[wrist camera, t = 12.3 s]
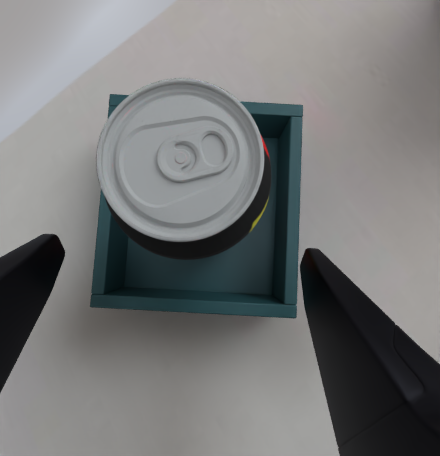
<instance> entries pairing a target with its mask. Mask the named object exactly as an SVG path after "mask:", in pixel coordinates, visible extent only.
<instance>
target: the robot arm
mask: <svg viewBox="0 0 440 456" xmlns="http://www.w3.org/2000/svg"><path fill="white" fill-rule="evenodd" d="M64 257H65V250H64V248H63V246H62V244H61V242H60V240H59V237H58V236H57V235H55V234H42V235H40V236H39V237H37V238H35V239H33V240H31V241H30V242H28V243H26V244H24V245H22V246H20V247H19V248H17V249H15V250H13V251H11V252H9V253H8V254H6V255H4V256H2V257H0V392H1V391H2V389H3V387H4V385H5V383H6V381H7V379H8V377H9V375H10V373H11V371H12V369H13V367H14V365H15V363H16V361H17V359H18V357H19V355H20V353H21V351H22V349H23V347H24V345H25V343H26V341H27V339H28V337H29V335H30V333H31V331H32V329H33V328H34V326H35V324H36V322H37V320H38V318H39V316H40V314H41V312H42V310H43V308H44V306H45V304H46V302H47V300H48V298H49V296H50V294H51V291H52V289H53V286H54V284H55V281H56V278H57V276H58V273H59V270H60V268H61V265H62V262H63V260H64ZM300 272H301V281H302V290H303V298H304V306H305V311H306V316H307V320H308V324H309V328H310V332H311V337H312V341H313V345H314V349H315V353H316V357H317V362H318V366H319V370H320V374H321V378H322V383H323V387H324V391H325V395H326V399H327V403H328V408H329V412H330V416H331V420H332V424H333V429H334V433H335V437H336V441H337V445H338V447H339V448H338V450H339V454H340V456H440V364H439V363H438V362H437V361H435V360H434V359H433V358H432V357H431V356H430V355H429V354H427V353H426V352H425V351H424V350H423V349H422V348H421V347H420V346H419V345H417V344H416V343H415V342H414V341H413V340H412V339H411V338H410V337H409V336H408V335H407V334H406V333H405V332H404V331H403V330H402V329H401V328H400V327H399V326H397V325H395V323H394V322H393V321H392V320H391V319H390V318H389V317H388V316H387V315H386V314H385V313H384V312H383V311H382V310H381V309H380V308H379V307H378V306H377V305H376V304H375V303H374V302H373V301H372V300H371V299H370V298H369V297H368V296H367V295H365V294H364V293H363V292H362V291H361V290H360V289H359V288H358V287H357V286H356V285H355V284H354V283H353V282H352V281H351V280H350V279H349V278H348V277H347V276H346V275H345V274H344V273H343V272H342V271H341V270H340V269H339V268H338V267H337V266H336V265H335V264H334V263H333V262H331V261H330V260H329V259H328V258H327V257H326V256H325V255H324V254H323V253H322V252H321V251H320V250H319V249H315V248H307V249H306V250H305V253H304V255H303V258H302V261H301V264H300Z"/></svg>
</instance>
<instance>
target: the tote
mask: <svg viewBox="0 0 440 456" xmlns="http://www.w3.org/2000/svg"><path fill="white" fill-rule="evenodd" d="M128 96H129V95H116V94H110V99H109V110H108V118H109V117H110V115H111V114H112V112H113V111H114V110H115V109H116V107H117V106H118V105H119V104H120V103H121V102H122V101H123V100H124V99H126V98H127V97H128ZM241 103H242V105H243V106H244V107H245V108H246V109H247V110H248V112H249V113H250V114H251V116H252V118H253V119H254V121H255V123H256V125H257V127H258V130H259V132H260V134H261V136H262V138H263V140H264V142H265V145H266V148H267V150H268V154H269V158H270V164H271V175H272V179H271V189H270V195H269V199H268V202H267V205H266V207H265V210H264V212H263V214H262V216H261V218H260V219H259V221H258V222H257V224H256V225H255V226H254V228H253V229H252V230H251V231H250V232H249V233H248V235H247V236H245V237H244V238H243V239H242V240H241V241H240V242H238V243H237V244H236V245H234V246H233V247H231V248H229V249H227V250H226V251H223V252H221V253H219V254H216V255H213V256H210V257H206V258H201V259H194V260H181V259H172V258H167V257H163V256H160V255H157V254H155V253H152V252H150V251H148V250H146V249H144V248H143V247H141V246H140V245H138V244H137V243H135V242H134V241H133V240H132V239H130V238H129V237H128V236H127V235H126V234H125V233H124V231H123V230H122V229H121V228H120V227H119V225H118V224H117V222H116V221H115V219H114V218H113V216H112V214H111V212H110V210H109V208H108V206H107V203H106V200H105V197H104V194H103V191H102V189H101V195H100V206H99V217H98V227H97V238H96V249H95V259H94V270H93V281H92V291H91V294H92V295H91V303H90V307H96V308H114V309H133V310H151V311H169V312H188V313H206V314H224V315H242V316H261V317H279V318H296V315H297V306H296V304H297V280H298V247H299V214H300V181H301V148H302V116H303V105H292V104H274V103H257V102H241Z"/></svg>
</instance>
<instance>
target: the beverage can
mask: <svg viewBox="0 0 440 456" xmlns="http://www.w3.org/2000/svg"><path fill="white" fill-rule="evenodd" d="M96 166H97V174H98V179H99V183H100V186H101V189H102V191H103V194H104V197H105V200H106V203H107V206H108V208H109V210H110V212H111V214H112V216H113V218H114V219H115V221H116V222H117V224H118V225H119V227H120V228H121V229H122V230H123V231H124V233H125V234H126V235H127V236H128V237H129V238H130V239H132V240H133V241H134V242H135V243H137V244H138V245H140V246H141V247H143V248H144V249H146V250H148V251H150V252H152V253H155V254H157V255H160V256H163V257H167V258H172V259H181V260H194V259H201V258H206V257H210V256H213V255H216V254H219V253H221V252H223V251H226V250H227V249H229V248H231V247H233V246H234V245H236V244H237V243H238V242H240V241H241V240H242V239H243V238H244V237H245V236H247V235H248V233H249V232H250V231H251V230H252V229H253V228H254V226H255V225H256V224H257V222H258V221H259V219H260V218H261V216H262V214H263V212H264V210H265V207H266V205H267V202H268V199H269V195H270V189H271V179H272V175H271V164H270V158H269V154H268V150H267V148H266V145H265V142H264V140H263V138H262V136H261V134H260V132H259V130H258V127H257V125H256V123H255V121H254V119H253V118H252V116H251V114H250V113H249V112H248V110H247V109H246V108H245V107H244V106H243V105H242V103H241V102H240V101H238V100H237V99H236V98H235V97H234V96H233V95H231V94H230V93H228V92H227V91H225V90H224V89H222V88H220V87H218V86H216V85H213V84H211V83H208V82H205V81H201V80H196V79H188V78H174V79H166V80H161V81H157V82H154V83H151V84H149V85H146V86H144V87H142V88H140V89H138V90H137V91H135V92H134V93H132V94H131V95H129V96H128V97H127V98H126V99H124V100H123V101H122V102H121V103H120V104H119V105H118V106H117V107H116V109H115V110H114V111H113V112H112V114H111V115H110V117H109V118H108V120H107V122H106V123H105V125H104V128H103V130H102V132H101V135H100V138H99V142H98V147H97V155H96Z"/></svg>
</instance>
